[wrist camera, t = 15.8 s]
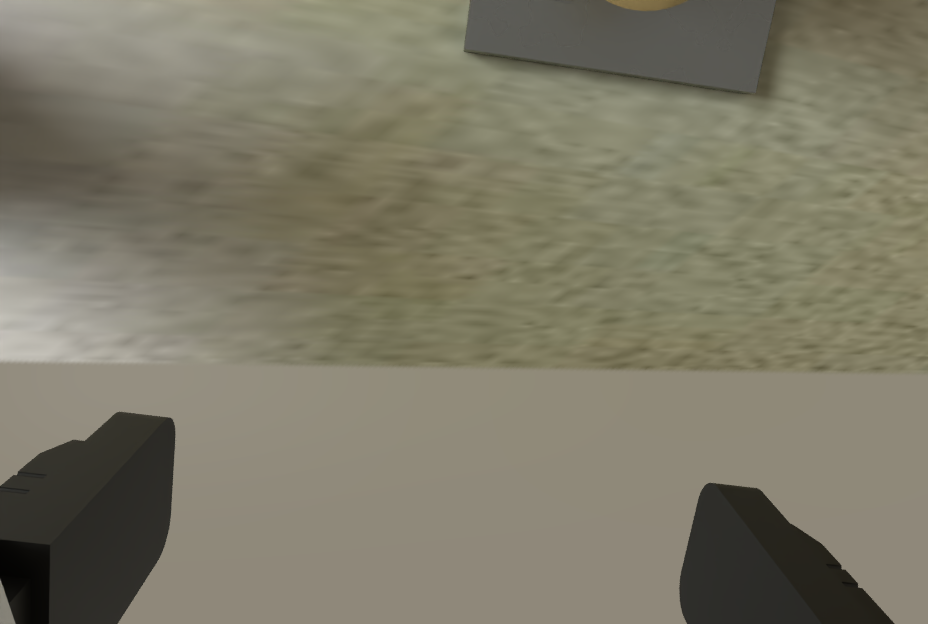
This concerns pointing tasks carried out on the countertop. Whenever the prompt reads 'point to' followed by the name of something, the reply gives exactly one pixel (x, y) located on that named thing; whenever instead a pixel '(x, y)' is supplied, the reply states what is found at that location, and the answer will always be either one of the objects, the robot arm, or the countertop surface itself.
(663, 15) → the grey square plate
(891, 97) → the countertop surface
